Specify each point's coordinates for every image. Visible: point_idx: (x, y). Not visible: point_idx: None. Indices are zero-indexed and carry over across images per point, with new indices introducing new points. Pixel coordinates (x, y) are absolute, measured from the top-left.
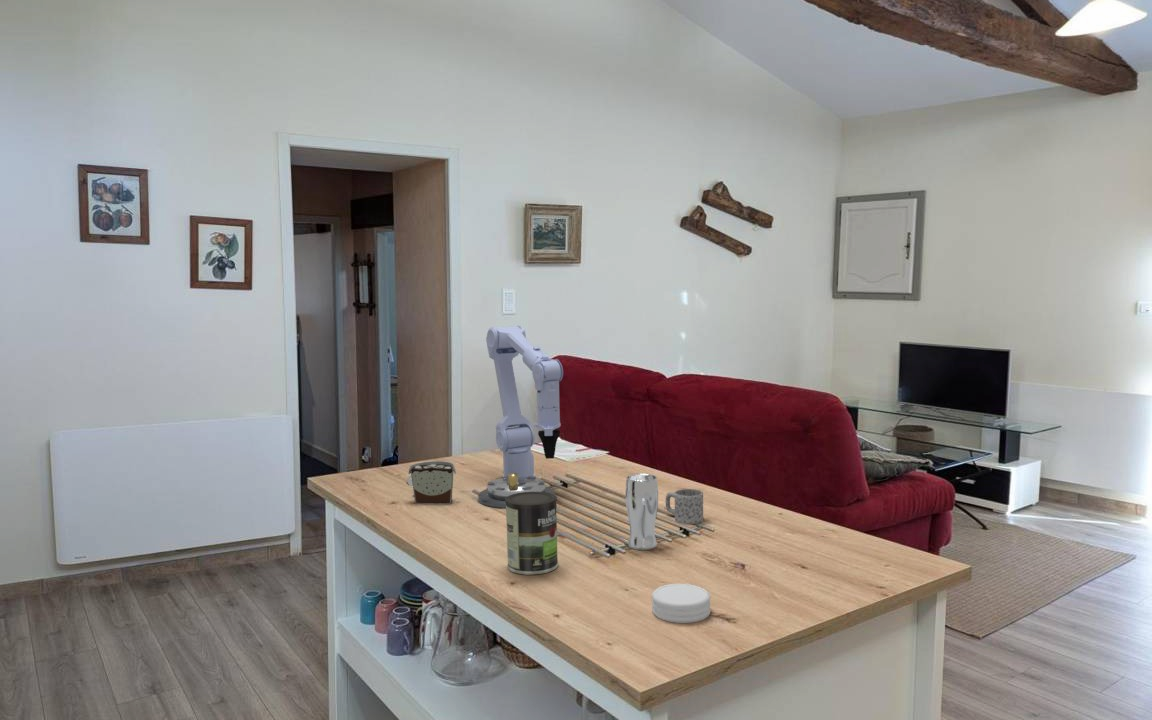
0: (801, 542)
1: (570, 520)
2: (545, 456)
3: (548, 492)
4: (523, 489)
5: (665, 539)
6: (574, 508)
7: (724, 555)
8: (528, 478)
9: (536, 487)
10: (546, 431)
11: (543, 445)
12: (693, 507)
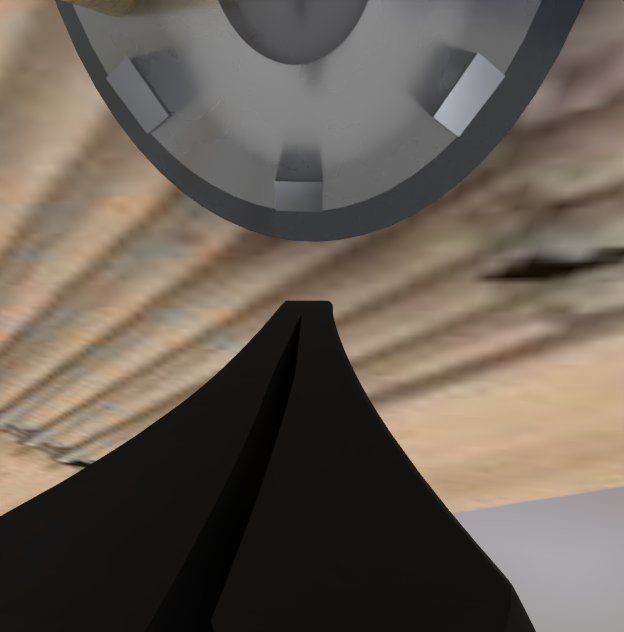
0: None
1: (43, 292)
2: (278, 309)
3: (324, 211)
4: (114, 71)
5: (25, 439)
6: (175, 303)
7: (2, 478)
8: (455, 68)
9: (200, 165)
10: None
11: (204, 390)
12: None
